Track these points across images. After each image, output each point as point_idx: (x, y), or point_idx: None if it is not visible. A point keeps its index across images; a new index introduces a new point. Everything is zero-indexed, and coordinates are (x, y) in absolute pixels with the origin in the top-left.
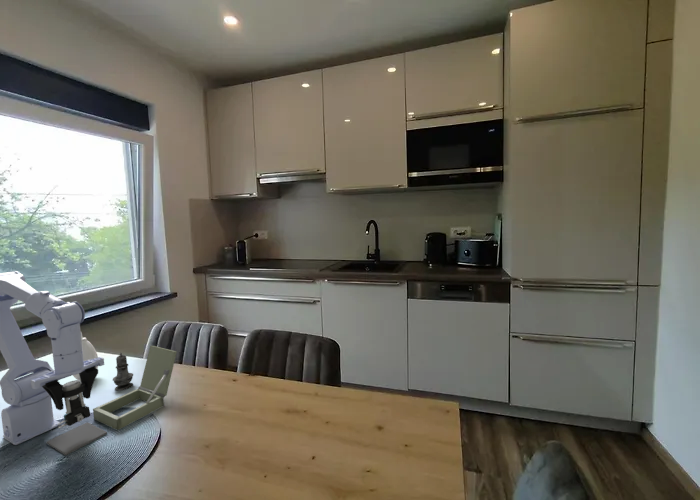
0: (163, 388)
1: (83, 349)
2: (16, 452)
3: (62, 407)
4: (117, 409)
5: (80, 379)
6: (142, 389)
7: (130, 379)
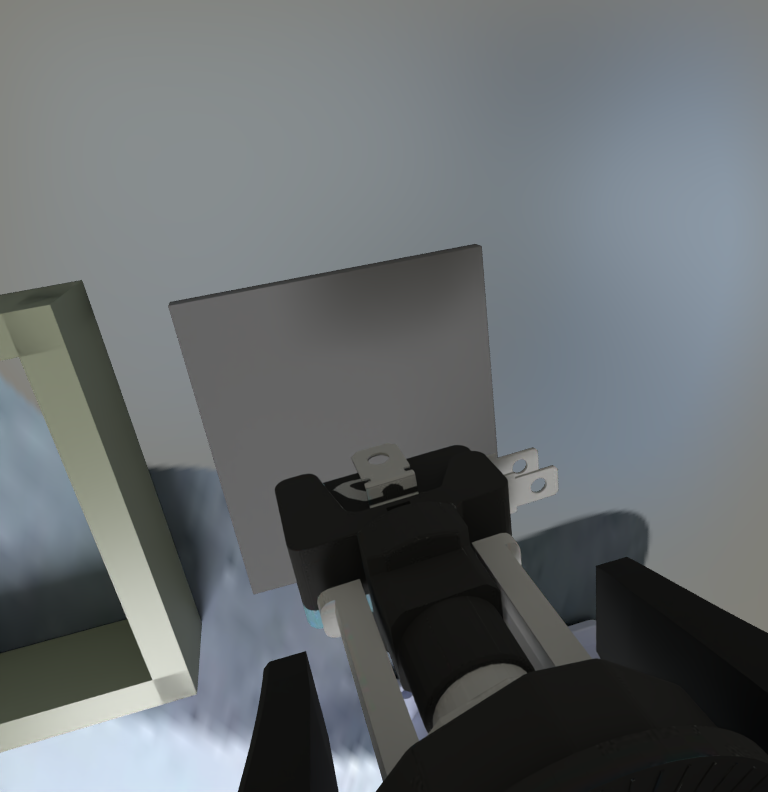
0: None
1: None
2: (613, 544)
3: (621, 576)
4: (15, 649)
5: None
6: None
7: None
